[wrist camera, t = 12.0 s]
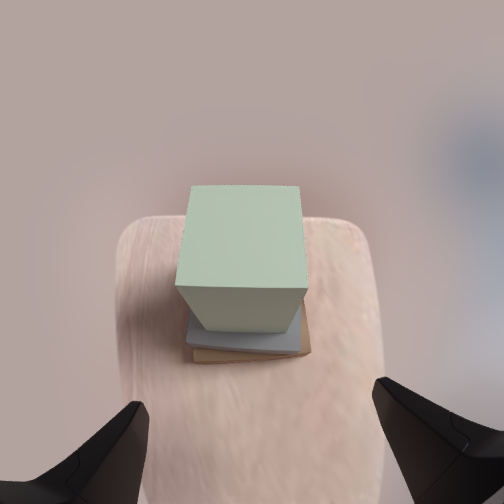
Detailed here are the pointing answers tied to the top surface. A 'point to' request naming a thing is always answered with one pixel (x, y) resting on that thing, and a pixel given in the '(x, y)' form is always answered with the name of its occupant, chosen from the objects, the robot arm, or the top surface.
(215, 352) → the walnut base slab
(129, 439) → the robot arm
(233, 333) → the charcoal top slab
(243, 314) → the sage green block
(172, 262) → the top surface
